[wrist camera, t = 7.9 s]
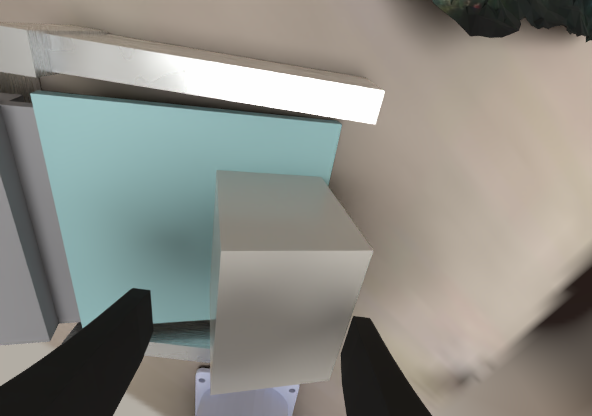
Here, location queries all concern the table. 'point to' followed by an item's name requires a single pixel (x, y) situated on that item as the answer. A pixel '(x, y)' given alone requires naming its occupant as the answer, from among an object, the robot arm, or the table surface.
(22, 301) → the trapdoor
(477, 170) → the table surface
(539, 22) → the decorative rock
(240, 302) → the stone block
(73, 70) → the frame
